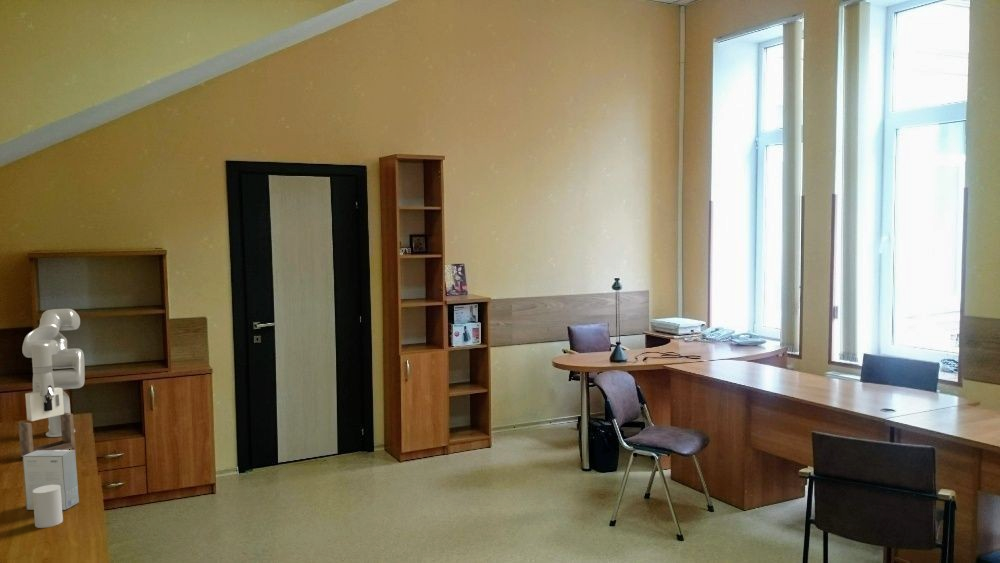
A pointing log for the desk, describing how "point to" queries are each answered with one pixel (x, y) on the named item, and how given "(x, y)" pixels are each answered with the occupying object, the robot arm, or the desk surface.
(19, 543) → the desk surface
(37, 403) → the door panel
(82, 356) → the robot arm
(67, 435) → the door frame
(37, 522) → the white cylinder
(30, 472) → the hard drive box
